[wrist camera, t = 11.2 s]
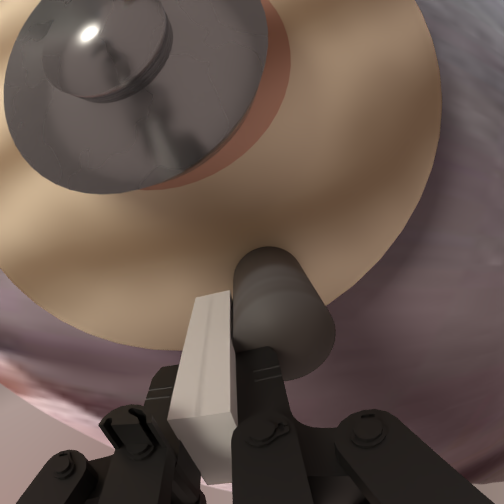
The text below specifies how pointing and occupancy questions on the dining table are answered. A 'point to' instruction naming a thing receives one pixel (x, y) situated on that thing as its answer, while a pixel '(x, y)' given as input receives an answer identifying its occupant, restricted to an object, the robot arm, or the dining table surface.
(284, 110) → the turntable
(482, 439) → the dining table surface
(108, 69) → the cover
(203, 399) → the robot arm
